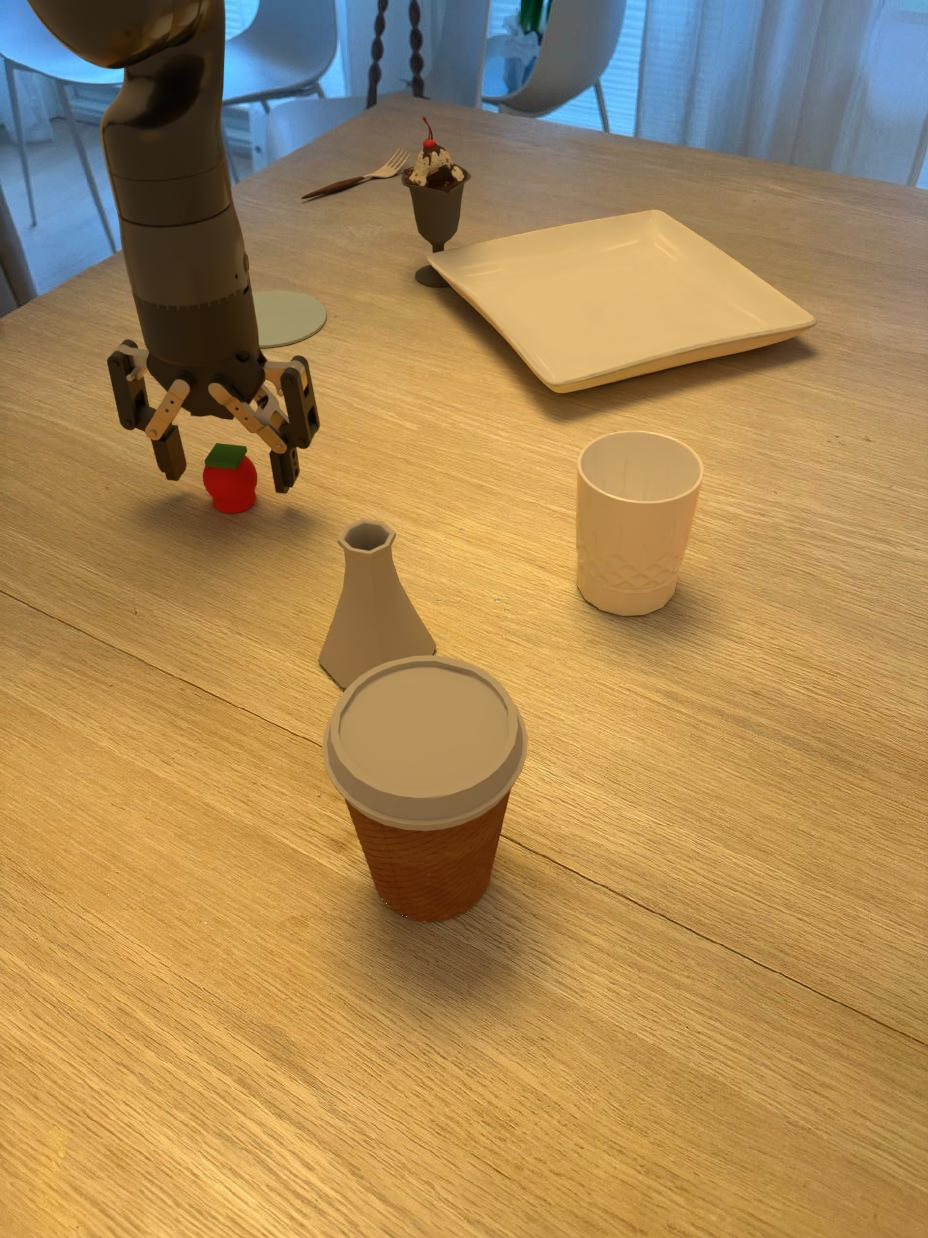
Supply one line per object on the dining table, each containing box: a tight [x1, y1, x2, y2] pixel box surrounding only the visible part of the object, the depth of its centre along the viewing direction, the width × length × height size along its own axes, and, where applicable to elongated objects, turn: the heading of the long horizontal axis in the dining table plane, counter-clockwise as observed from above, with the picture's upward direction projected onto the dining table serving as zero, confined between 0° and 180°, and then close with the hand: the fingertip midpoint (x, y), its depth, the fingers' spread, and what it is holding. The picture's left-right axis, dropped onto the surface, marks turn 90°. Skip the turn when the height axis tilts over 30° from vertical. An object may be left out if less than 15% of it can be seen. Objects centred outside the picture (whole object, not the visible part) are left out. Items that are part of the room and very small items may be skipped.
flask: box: [317, 517, 437, 689], centre depth 64 cm, size 7×7×10 cm
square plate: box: [425, 209, 818, 394], centre depth 99 cm, size 27×27×4 cm
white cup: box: [575, 429, 705, 617], centre depth 69 cm, size 8×8×10 cm
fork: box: [300, 147, 413, 200], centre depth 125 cm, size 3×16×2 cm, turn 133°
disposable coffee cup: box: [321, 654, 529, 923], centre depth 52 cm, size 10×10×12 cm
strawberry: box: [202, 442, 258, 514], centre depth 79 cm, size 4×4×4 cm
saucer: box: [252, 290, 328, 349], centre depth 101 cm, size 11×11×1 cm
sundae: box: [400, 115, 472, 288], centre depth 102 cm, size 7×7×15 cm
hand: (231, 481), depth 79 cm, fingers open, 8 cm apart
